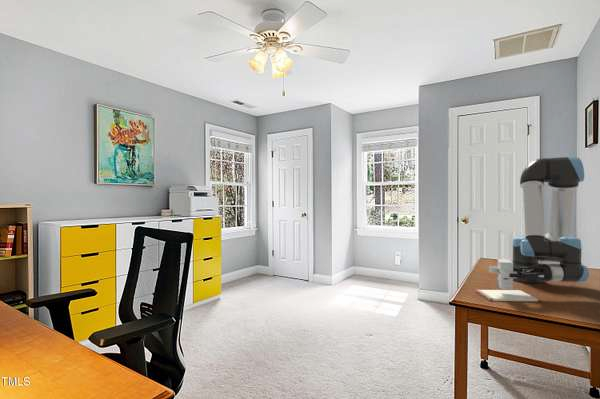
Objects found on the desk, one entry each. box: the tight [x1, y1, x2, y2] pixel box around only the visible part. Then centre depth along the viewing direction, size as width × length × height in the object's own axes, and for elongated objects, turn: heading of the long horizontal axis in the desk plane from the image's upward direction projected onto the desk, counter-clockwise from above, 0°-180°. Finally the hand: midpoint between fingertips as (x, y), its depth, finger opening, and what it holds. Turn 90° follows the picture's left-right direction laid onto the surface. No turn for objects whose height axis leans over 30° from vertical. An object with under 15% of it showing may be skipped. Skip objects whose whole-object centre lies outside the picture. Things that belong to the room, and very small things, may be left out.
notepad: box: [475, 289, 539, 302], centre depth 152 cm, size 20×13×1 cm, turn 86°
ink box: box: [496, 258, 514, 290], centre depth 151 cm, size 8×5×12 cm, turn 159°
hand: (494, 272), depth 151 cm, fingers closed on ink box, 9 cm apart
